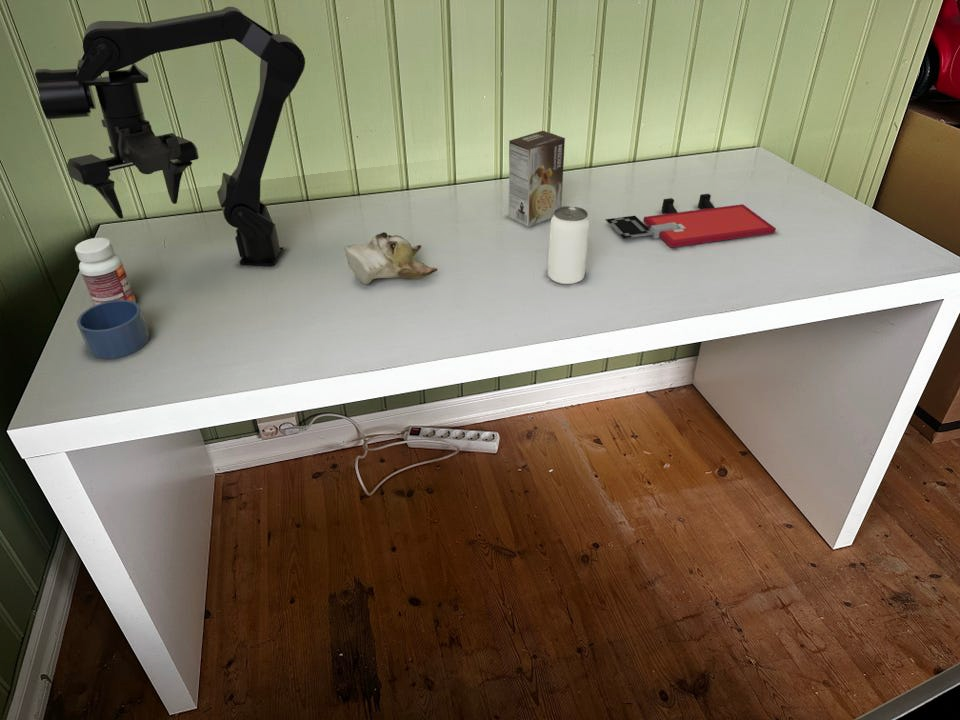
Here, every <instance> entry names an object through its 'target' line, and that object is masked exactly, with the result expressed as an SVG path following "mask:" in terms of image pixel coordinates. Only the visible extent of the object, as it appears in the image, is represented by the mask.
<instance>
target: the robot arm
mask: <svg viewBox="0 0 960 720" xmlns="http://www.w3.org/2000/svg"><path fill="white" fill-rule="evenodd" d="M228 40H234V41H236V42H237V43H239V44H241V45H242V46H243V47H245V48H246V49H247V50H249V51H250V52H252V53H253V54H254V55H255V56H257V57H258V58H259V59H260V62H259V63H260V64H259V90H258V93H257V96H256V100H255V102H254V107H253V109H252V114H251V118H250V120H249V125H248V127H247V131H246V135H245V138H244V142H243V145H242V149H241V152H240V155H239V158H238V162H237V165H236V167H235V169H234V171H233V172H232V173H231V174H228V173H226V172H222V176H221V184H220V186H219V189H218V190H217V191H216V194H217V198H218V201H219V205H220V208H221V212H222V213H223V217H224V219H225V221H226V223H227V224H228V225H230V226H231V227H233V228H235V232H236V236H235V243H236V247H237V250H238V254H239V255H238V256H239V257H240V260H239V261H238V262H239V265H240V266H259V267H260V266H262V267H273V266H275V265H276V264H277V262H278V261H279V259H280V257H281V256H282V255H283V253H284V251H285V247H283V246H280V240H279V237H278V231H277V227H276V223H274V221H273V218H272V216H271V214H270V211H269V209H268V207H267V205H266V204H265V203H263V202H261V181H262V176H263V174H264V169H265V166H266V162H267V160H268V157H269V153H270V150H271V147H272V144H273V140H274V137H275V134H276V131H277V128H278V123H279V120H280V117H281V114H282V111H283V107H284V104H285V102H286V100H287V98H288V97H289V96H290V94H291V93H292V92H293V91H294V90H295V88H296V86H297V84H298V82H299V80H300V78H301V76H302V75H303V72H304V70H305V67H306V57H305V55H304V53H303V51H302V49H300V47H299V46H298V45H297V44H296V42H294V40H293V39H292V38H291V37H289V36H288V35H286V34H283V33H273V32H272V31H270V30H268V29H267V28H266V27H264V26H262V25H261V24H259V23H257V22H256V21H255V20H253V19H252V18H250V17H248V16H247V15H245V14H244V13H243V12H242V10H241V9H239V8H237V7H235V6H226V7H224V8H221V9H218V10H212V11H206V12H200V13H194V14H189V15H184V16H178V17H172V18H166V19H161V20H155V21H148V22H135V21H128V20H127V21H126V20H97V21H94V22H92V23H90V24H89V25H88V26H87V27H86V29H85V31H84V34H83V39H82V50H83V55H82V57H81V59H78V61H77V66H76V68H65V69H48V68H37V69H36V70H35V72H34V77H35V79H36V84H37V89H38V90H37V91H38V95H39V98H38V100H39V103H40V106H41V109H42V112H43V114H44V117H45V118H46V120H59V119H75V118H87V117H88V118H89V117H90V116H91V113H92V110H96V109H97V106H96V100H95V95H94V92H93V89H92V87H94V88H95V92H96V95H97V99H98V102H99V106H100V110H101V113H102V117H103V119H100V120H101V124H102V127H103V128H105V129H106V132H107V135H108V139H109V143H110V145H108V150H109V153H110V154H112V155H113V156H111V157H106V158H100V157H98V156H96V155H94V154H92V153H91V154H86V155H82V156H77V157H76V156H75V157H71V158H68V161H67V162H66V168H67V172H68V175H69V177H70V178H71V179H73V180H75V181H77V182H78V183H80V184H81V185H84V186H90V187H92V188H94V189H95V190H96V191H97V192H98V193H99V194H100V196H101V197H102V198H103V199H104V201H105V202H106V203H107V204H108V206H109V208H110V209H111V210H112V212H114V214H115V215H116V216H117V217H118V218H119V219H120V220H122V219H124V215H123V210H122V207H121V204H120V202H119V199H118V195H117V193H116V191H115V181H114V180H112V179H110V176H111V172H112V171H117V170H120V169H126V168H130V167H135V168H136V169H137V170H138V172H139V173H141V174H143V175H152V174H153V173H157V172H161V171H162V175H163V178H164V183H165V186H166V190H167V194H168V197H169V199H170V202H171V203H172V204H174V205H177V204H178V199H179V192H180V187H181V181H182V176H183V173H184V172H185V170H186V169H187V168H188V167H191V166H193V161H197V160H199V158H200V156H199V151H198V147H197V146H196V144H195V143H194V142H193V141H191V140H188V139H187V138H184V137H181V136H179V135H176V134H174V133H173V132H170V133H165V134H162V135H161V134H160V135H156V134H155V133H154V131H153V128H152V125H151V124H150V120H147V119H146V117H145V114H144V112H145V111H144V109H143V103H142V100H141V97H140V91H139V88H138V84H147V83H149V82H150V81H149V75H148V73H146V72H145V71H143V70H142V69H140V68H139V66H137V63H138V62H141V61H142V60H144V59H146V58H148V57H151V56H152V55H155V54H158V53H163V52H169V51H174V50H179V49H180V50H181V49H185V48H191V47H195V46H201V45H206V44H211V43H217V42H218V43H219V42H224V41H228ZM129 66H130V67H129ZM126 67H129V68H128V69H124V68H126ZM105 72H108V73H107V74H108V76H101V75H103V74H104V73H105Z"/></svg>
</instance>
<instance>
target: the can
mask: <svg viewBox="0 0 960 720" xmlns="http://www.w3.org/2000/svg"><path fill="white" fill-rule="evenodd" d="M588 215H589V214H588V211H587V210H586V209H584V208H583V207H578V206H575V205H566V206H565V205H564V206H561V207H560V208H557V209H556V210H555V211H554V216H553V217H552V218H551V219H550V228H549V241H548V243H549V244H548V261H547V264H548V265H547V276H548V278H549V279H550V280H551V281H553V282H554V283H556V284H559V285H567V286H569V285H570V286H571V285H575V284H578V283H579V282H581V281H582V280H583V279H584V278H585V274H586V264H587V263H586V262H587V255H588V254H587V253H588V244H589V234H590V220H589V217H588Z"/></svg>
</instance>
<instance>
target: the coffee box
mask: <svg viewBox="0 0 960 720" xmlns="http://www.w3.org/2000/svg"><path fill="white" fill-rule="evenodd" d="M508 142H509V144H508V145H509V148H508V149H509V151H508V152H509V153H508V154H509V155H508V218H510V219H511V220H513V221H516V222H517V223H520V224H522V225H523V226H525V227H528V228H530V227H534V226H535V225H538V224H540V223H543V222H545V221H548V220H551V219H552V217H553V216H554V211H555V210H556V209H557V208H560V207H562V202H563V201H562V200H563V182H564V166H565V165H564V164H565V147H566V145H565V143H566V137H563V136H560V135H557V134H554V133H552V132H549V131H545V130H540V131H537V132H533V133H530V134H527V135H523V136H519V137H517V138H513V139H509V140H508Z"/></svg>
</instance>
